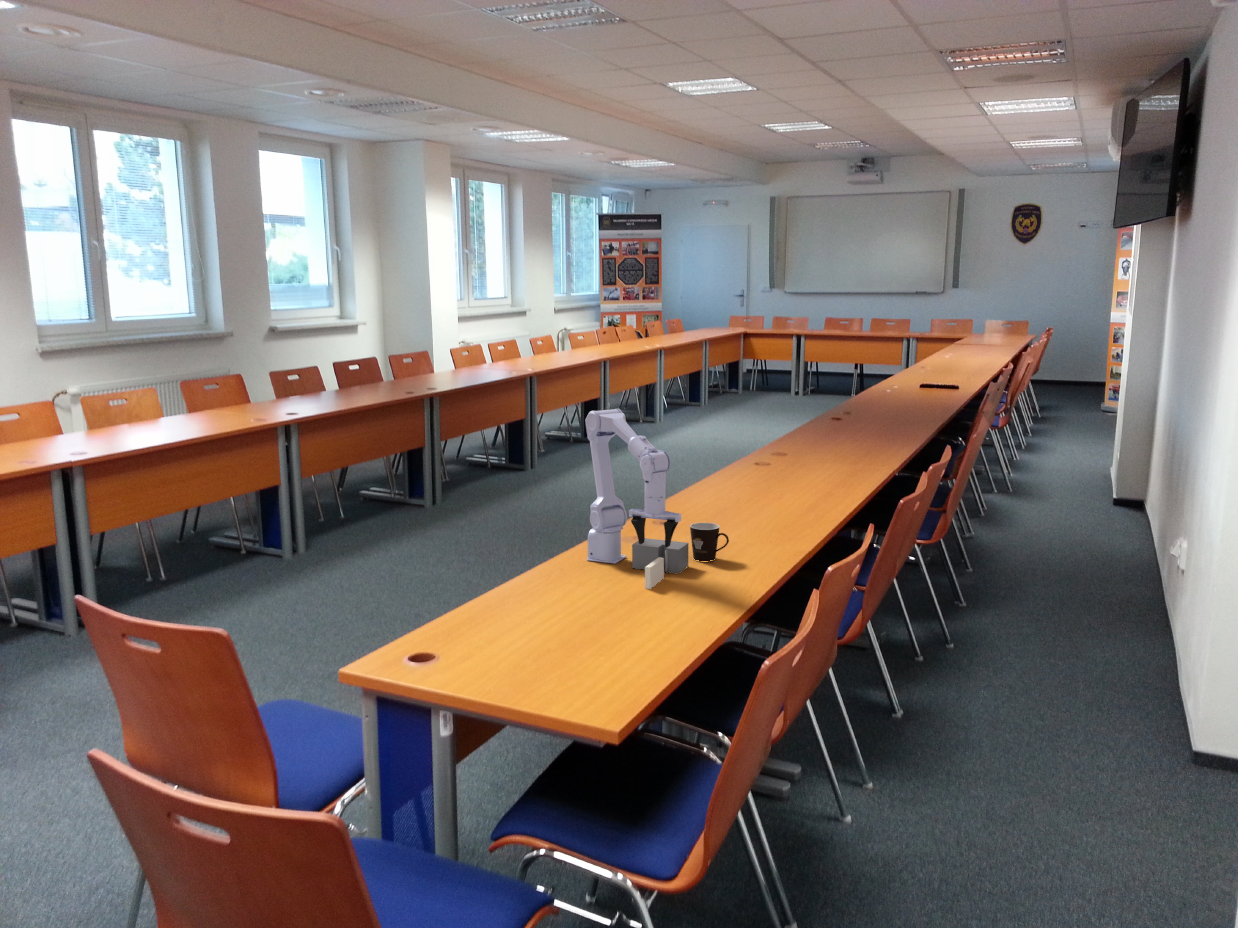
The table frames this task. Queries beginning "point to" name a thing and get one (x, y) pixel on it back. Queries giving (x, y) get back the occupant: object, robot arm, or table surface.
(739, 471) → the table surface
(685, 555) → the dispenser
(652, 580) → the white flat block
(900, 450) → the table surface
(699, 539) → the coffee mug
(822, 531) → the table surface
